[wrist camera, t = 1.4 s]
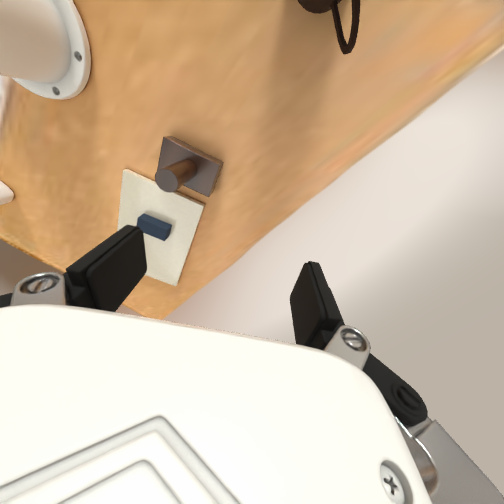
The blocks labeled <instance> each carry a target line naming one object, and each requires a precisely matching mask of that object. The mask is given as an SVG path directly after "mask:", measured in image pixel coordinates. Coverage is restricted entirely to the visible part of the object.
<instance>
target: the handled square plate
mask: <svg viewBox="0 0 504 504" xmlns="http://www.w3.org/2000/svg"><path fill="white" fill-rule="evenodd" d="M222 166H223V162H222V161H220V160H218V159H216V158H214V157H212V156H210V155H208V154H206V153H204V152H202V151H200V150H198V149H196V148H194V147H192V146H190V145H188V144H186V143H185V142H183V141H181V140H179V139H177V138H175V137H173V136H167V137H163V142H162V147H161V153H160V158H159V163H158V169H157V172H156V174H155V181H156V184H157V185H158V187H159V188H160V189H161V190H163V191H165V192H169V193H171V192H174V191H175V190H177V189H178V188H180V187H181V186H182V185H184V186H186V187H188V188H190V189H192V190H195V191H197V192H199V193H201V194H203V195H205V196H207V197H209V196H210V195H211V194H212V193H213V191H214V188H215V185H216V182H217V179H218V177H219V174H220V171H221V168H222Z"/></svg>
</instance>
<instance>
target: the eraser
mask: <svg viewBox="0 0 504 504" xmlns="http://www.w3.org/2000/svg"><path fill="white" fill-rule="evenodd" d="M136 226H138V227H139V228H140V230H142V231H143V233H145V234H148V235H150V236H153V237H155V238H157V239H160V240H162V241H165V240H166V239H167V238H168V237H169V235H170V232H171V228H172V225H171V224H168V223H166V222H164V221H161V220H159V219H157V218H154V217H152V216H149V215H147V214H145V213H143V214H142V215H141V216H139V217H138V219H137V225H136Z"/></svg>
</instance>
